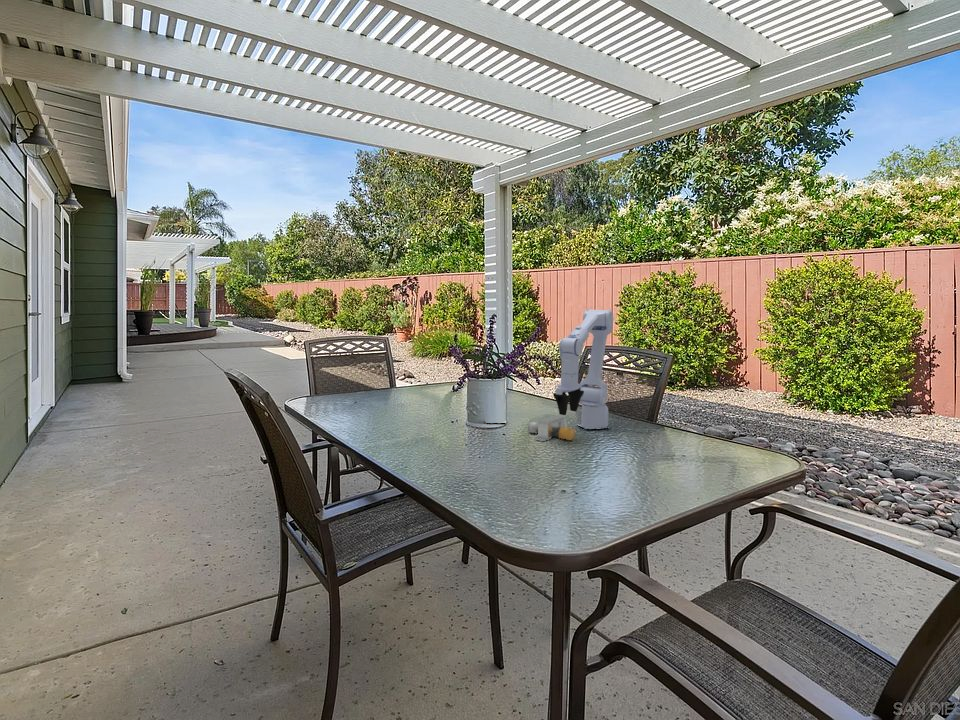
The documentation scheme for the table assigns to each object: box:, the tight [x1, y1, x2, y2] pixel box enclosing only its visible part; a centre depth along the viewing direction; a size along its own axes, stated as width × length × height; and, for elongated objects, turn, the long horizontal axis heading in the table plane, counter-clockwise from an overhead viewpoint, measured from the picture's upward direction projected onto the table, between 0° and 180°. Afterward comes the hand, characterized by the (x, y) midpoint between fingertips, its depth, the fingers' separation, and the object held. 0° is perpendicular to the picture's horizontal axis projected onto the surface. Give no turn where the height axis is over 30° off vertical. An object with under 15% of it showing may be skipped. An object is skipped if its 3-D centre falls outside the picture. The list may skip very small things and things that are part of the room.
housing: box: [533, 414, 565, 442], centre depth 192 cm, size 4×16×6 cm, turn 143°
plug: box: [527, 421, 576, 441], centre depth 192 cm, size 16×4×4 cm, turn 53°
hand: (568, 412), depth 187 cm, fingers open, 7 cm apart
